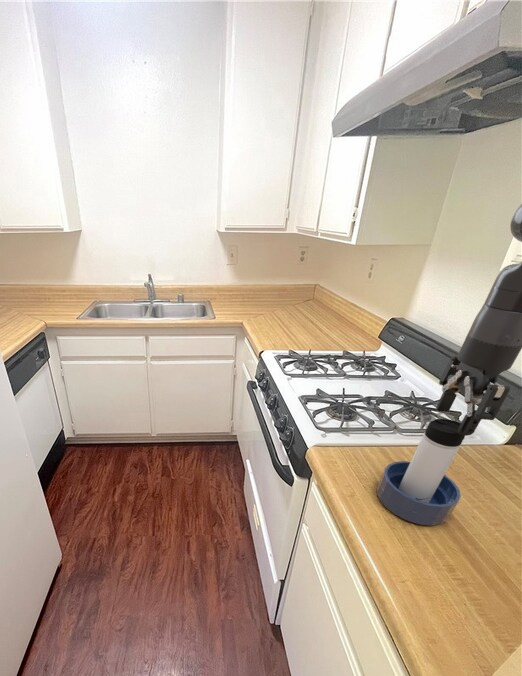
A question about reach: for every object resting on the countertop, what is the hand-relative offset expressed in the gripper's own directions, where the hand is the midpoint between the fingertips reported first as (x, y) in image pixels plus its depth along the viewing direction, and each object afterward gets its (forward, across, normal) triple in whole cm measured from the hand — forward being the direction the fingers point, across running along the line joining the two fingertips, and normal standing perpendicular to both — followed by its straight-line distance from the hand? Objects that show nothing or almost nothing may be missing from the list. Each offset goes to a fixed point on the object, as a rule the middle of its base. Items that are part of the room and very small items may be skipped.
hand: (452, 421), depth 65 cm
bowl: (+21, 0, 0) cm, 21 cm away
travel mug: (+21, 0, 0) cm, 21 cm away
